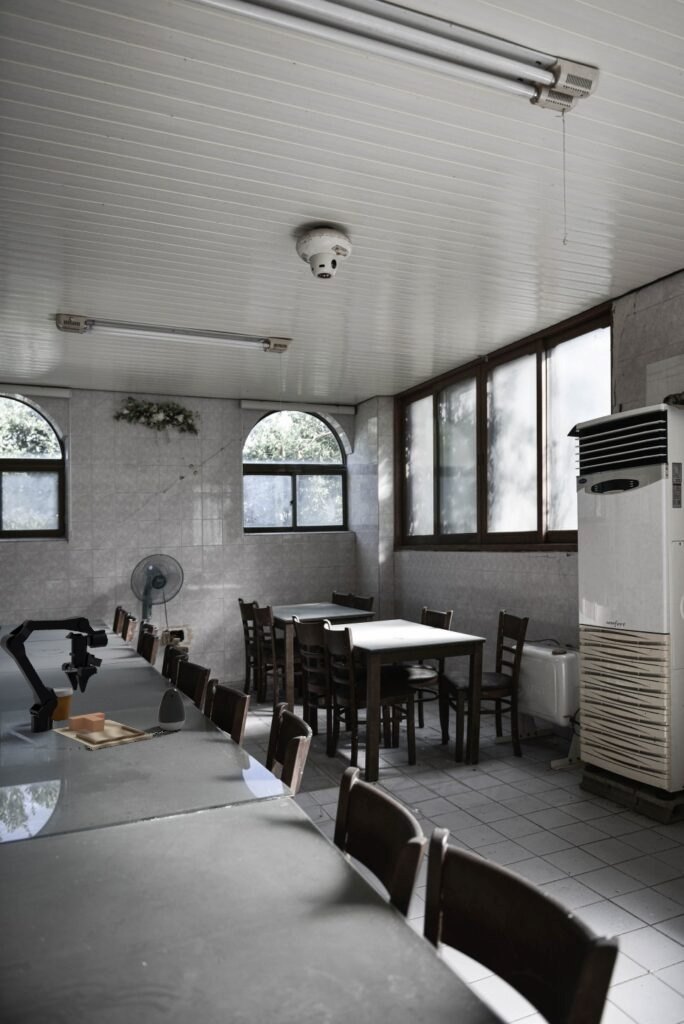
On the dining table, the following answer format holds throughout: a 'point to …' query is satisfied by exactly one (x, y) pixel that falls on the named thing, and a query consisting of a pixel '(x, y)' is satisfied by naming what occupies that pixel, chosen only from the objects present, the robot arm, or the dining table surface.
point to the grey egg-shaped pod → (171, 710)
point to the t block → (88, 722)
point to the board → (105, 735)
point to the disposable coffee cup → (62, 703)
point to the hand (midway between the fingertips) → (79, 691)
